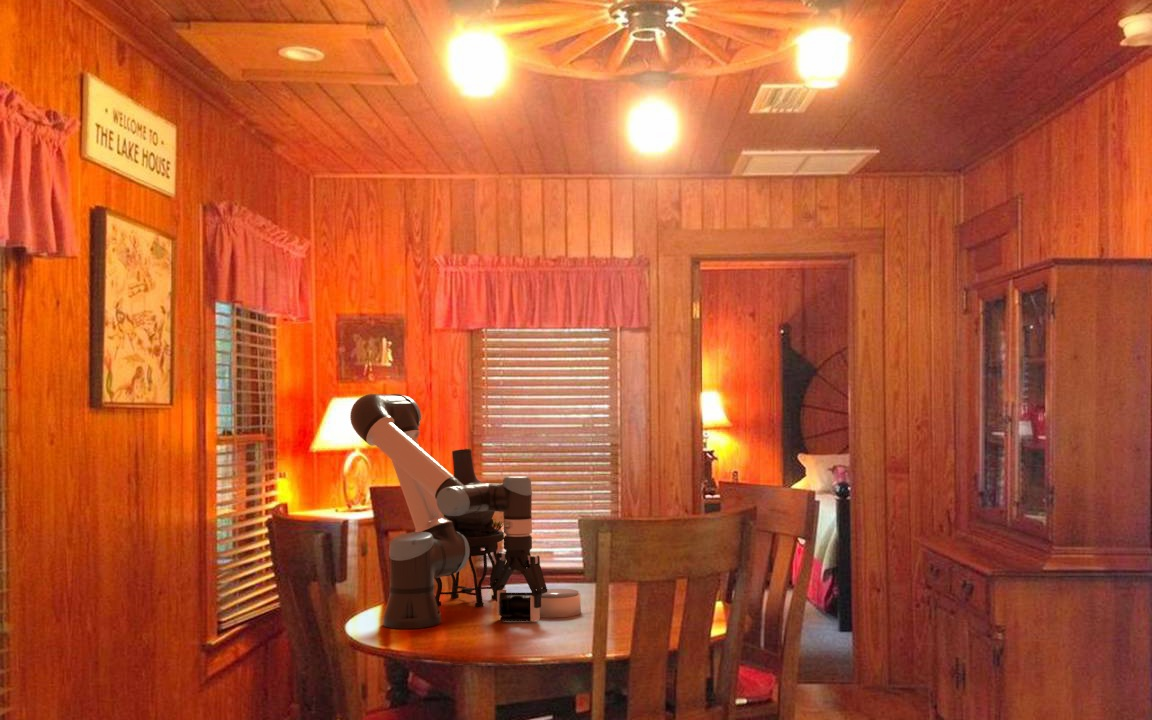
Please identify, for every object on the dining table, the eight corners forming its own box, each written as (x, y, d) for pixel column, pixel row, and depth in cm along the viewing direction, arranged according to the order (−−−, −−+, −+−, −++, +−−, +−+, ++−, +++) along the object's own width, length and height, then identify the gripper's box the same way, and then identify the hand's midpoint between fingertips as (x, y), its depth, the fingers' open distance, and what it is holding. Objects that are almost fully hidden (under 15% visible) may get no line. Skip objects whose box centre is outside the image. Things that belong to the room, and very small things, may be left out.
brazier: (519, 598, 317) (517, 447, 319) (475, 610, 297) (472, 450, 300) (459, 593, 328) (457, 448, 331) (412, 605, 309) (410, 450, 311)
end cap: (538, 616, 283) (538, 590, 283) (536, 621, 276) (536, 595, 276) (501, 616, 284) (501, 590, 284) (498, 621, 277) (497, 595, 277)
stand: (519, 613, 291) (519, 593, 291) (554, 606, 301) (553, 586, 302) (556, 619, 282) (556, 598, 282) (591, 611, 292) (590, 591, 292)
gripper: (476, 532, 286) (476, 614, 285) (540, 539, 270) (541, 625, 269) (496, 530, 292) (496, 610, 291) (560, 536, 276) (561, 620, 275)
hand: (518, 617), depth 280 cm, fingers closed on end cap, 12 cm apart
